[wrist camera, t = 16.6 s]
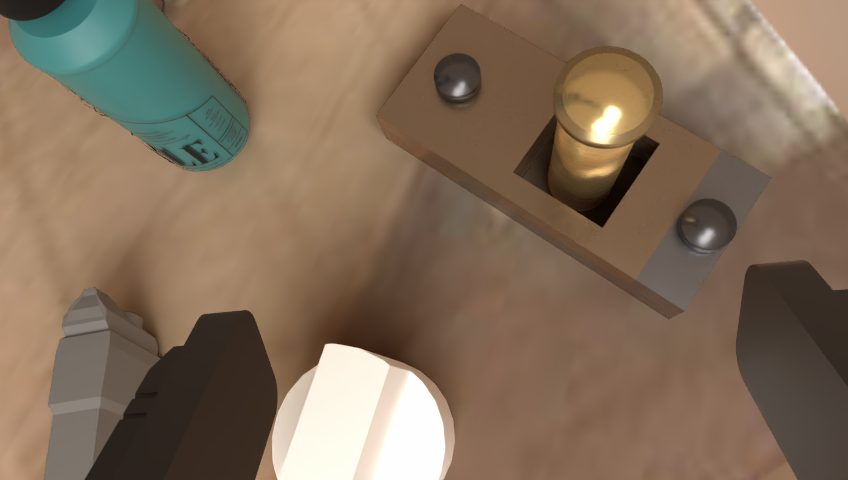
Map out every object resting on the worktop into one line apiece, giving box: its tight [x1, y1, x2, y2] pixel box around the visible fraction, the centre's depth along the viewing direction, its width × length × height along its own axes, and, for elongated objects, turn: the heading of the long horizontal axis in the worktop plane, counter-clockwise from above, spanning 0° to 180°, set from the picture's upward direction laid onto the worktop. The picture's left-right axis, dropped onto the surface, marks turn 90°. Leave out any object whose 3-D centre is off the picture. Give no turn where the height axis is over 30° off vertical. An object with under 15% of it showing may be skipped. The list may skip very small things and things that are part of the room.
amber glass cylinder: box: [548, 46, 663, 210], centre depth 35 cm, size 5×5×12 cm
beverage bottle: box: [0, 0, 250, 171], centre depth 35 cm, size 6×7×20 cm
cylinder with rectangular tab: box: [272, 344, 455, 480], centre depth 33 cm, size 9×9×12 cm
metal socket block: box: [376, 4, 772, 319], centre depth 39 cm, size 21×9×5 cm, turn 54°
